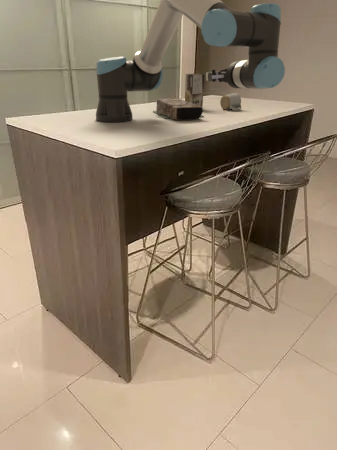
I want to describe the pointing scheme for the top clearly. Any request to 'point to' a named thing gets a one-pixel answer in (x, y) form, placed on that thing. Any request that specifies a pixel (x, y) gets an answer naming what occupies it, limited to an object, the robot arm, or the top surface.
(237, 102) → the ceramic mug
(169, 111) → the stone block
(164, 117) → the rubber mat
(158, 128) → the top surface
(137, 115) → the top surface
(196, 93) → the coffee box
